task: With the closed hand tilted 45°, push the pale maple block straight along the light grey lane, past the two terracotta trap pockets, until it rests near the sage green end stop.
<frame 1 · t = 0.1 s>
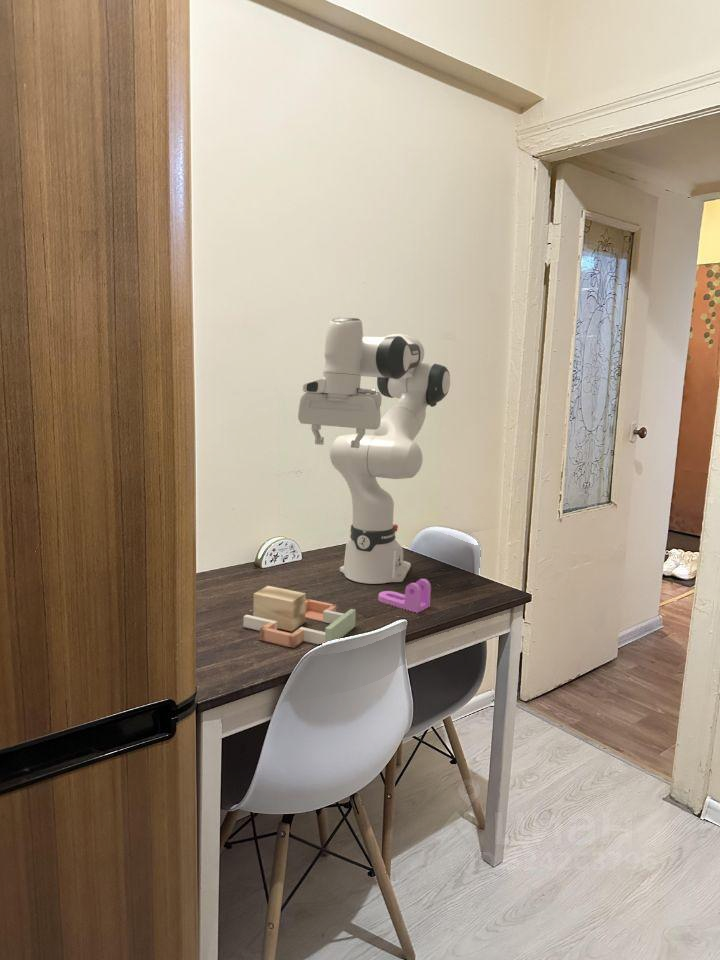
hand: (336, 446, 160), 39 cm above the table, tool pointing down, fingers open, 8 cm apart
maple block: (279, 622, 154), on the table
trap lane: (296, 626, 153), on the table
bracket: (401, 604, 169), on the table
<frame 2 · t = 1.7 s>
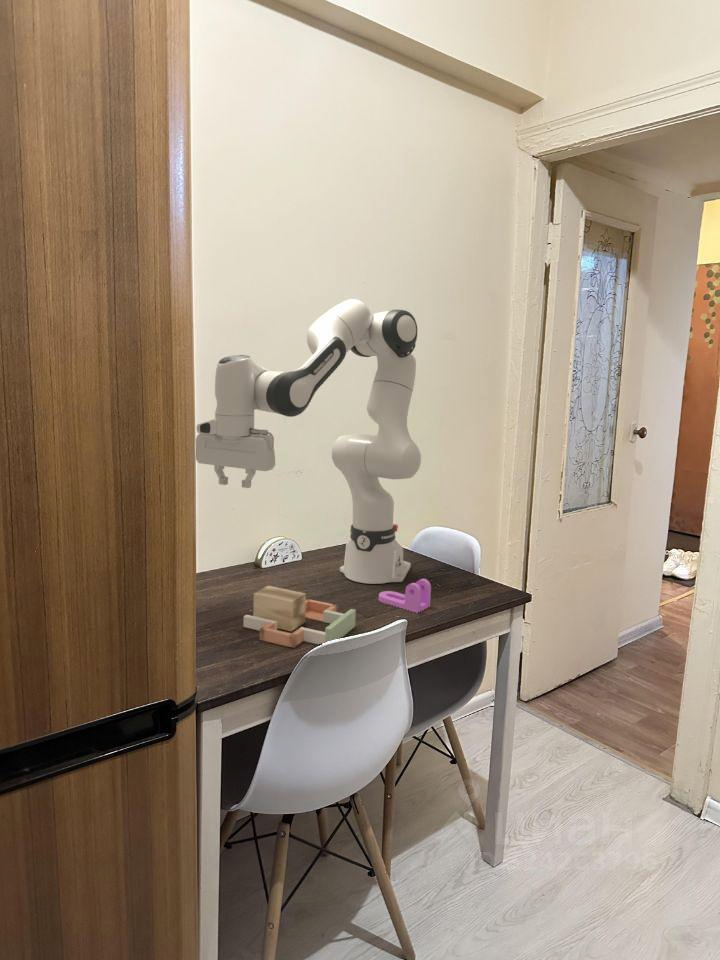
hand: (234, 486, 159), 29 cm above the table, tool pointing down, fingers open, 5 cm apart
nothing on the table moved.
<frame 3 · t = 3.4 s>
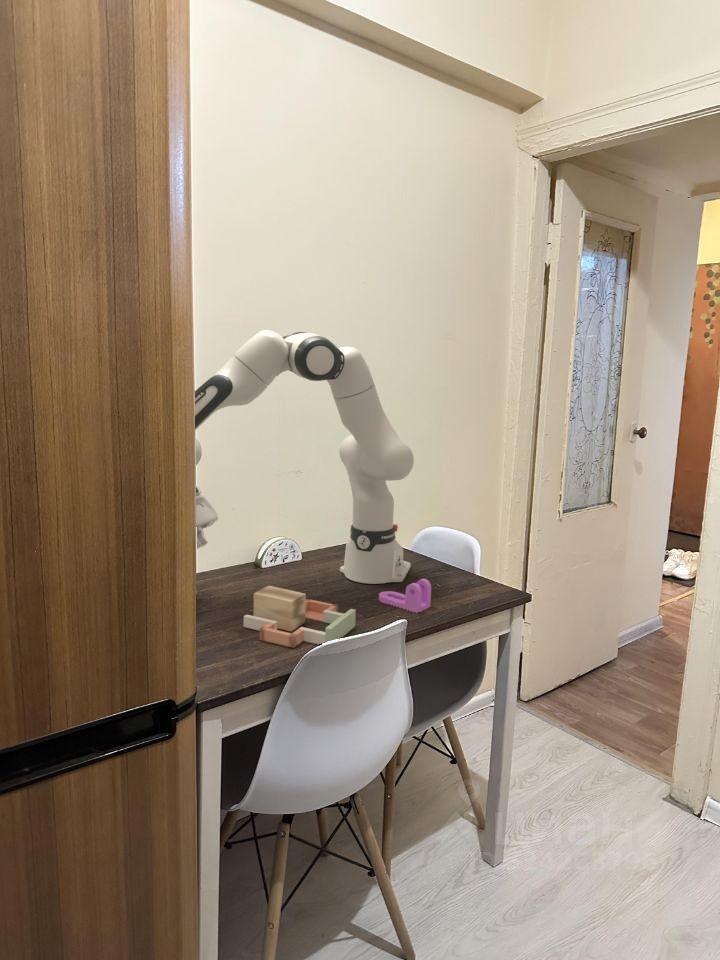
hand: (202, 546, 160), 15 cm above the table, tool tilted 45°, fingers closed
nothing on the table moved.
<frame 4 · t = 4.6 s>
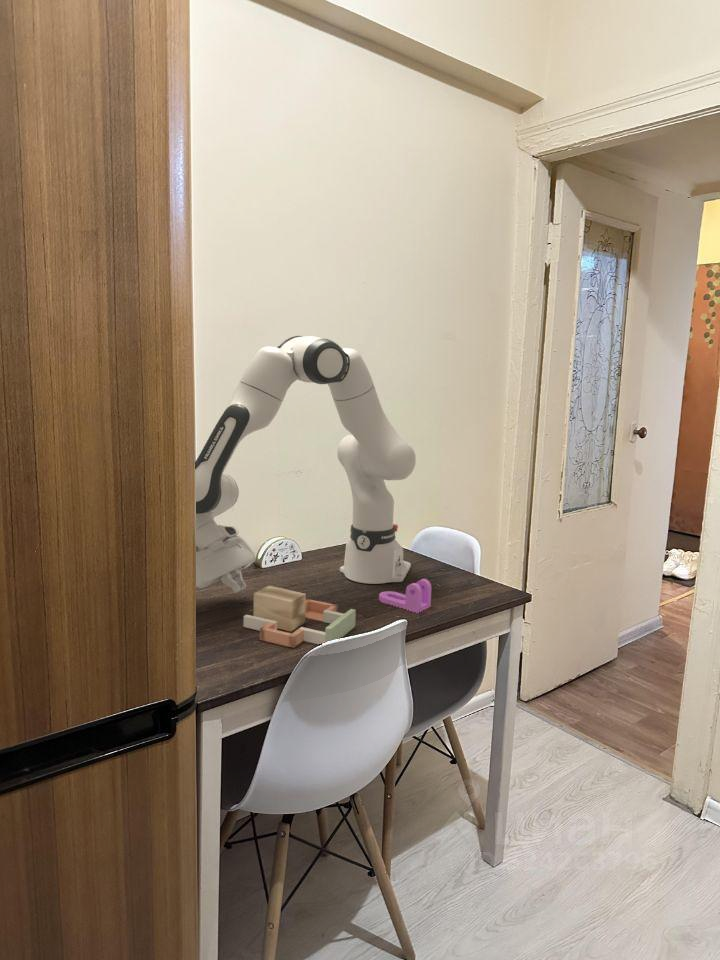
hand: (241, 589, 158), 6 cm above the table, tool tilted 45°, fingers closed
nothing on the table moved.
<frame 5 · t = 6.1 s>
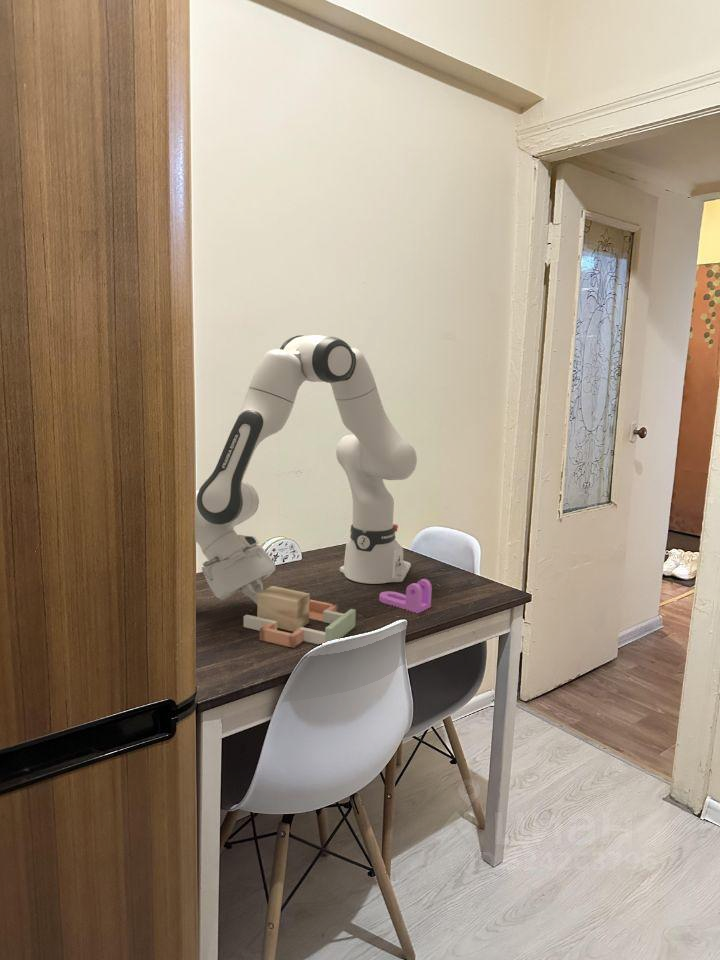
hand: (262, 600, 156), 4 cm above the table, tool tilted 45°, fingers closed, pressing on maple block
maple block: (283, 622, 154), on the table, touching gripper
everything else where it was.
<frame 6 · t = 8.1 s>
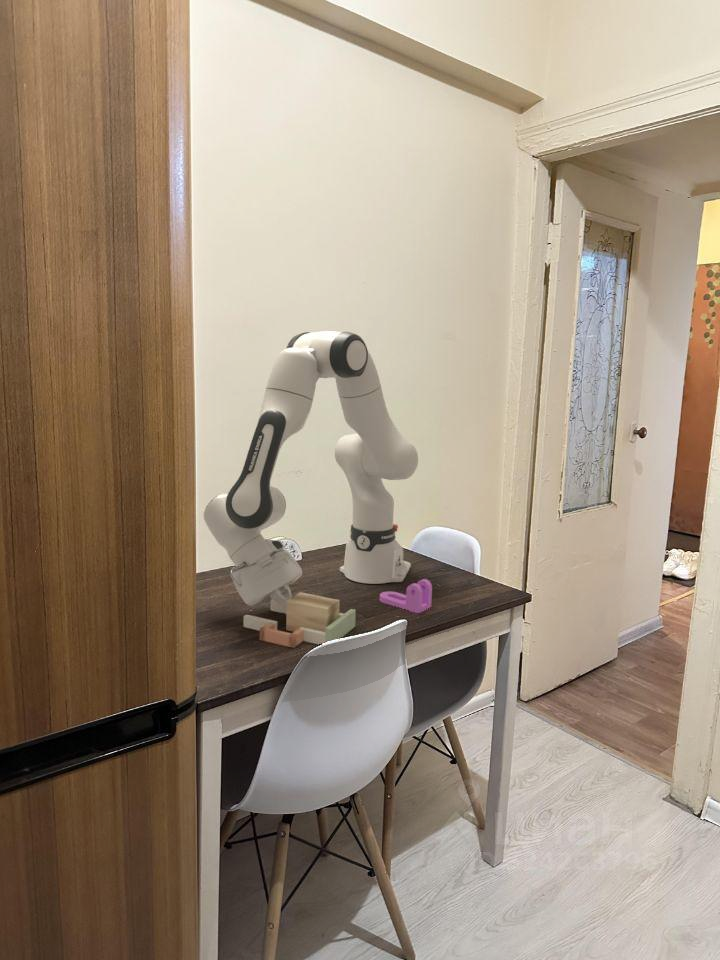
hand: (290, 606, 152), 4 cm above the table, tool tilted 45°, fingers closed
maple block: (312, 630, 151), on the table
everything else where it was.
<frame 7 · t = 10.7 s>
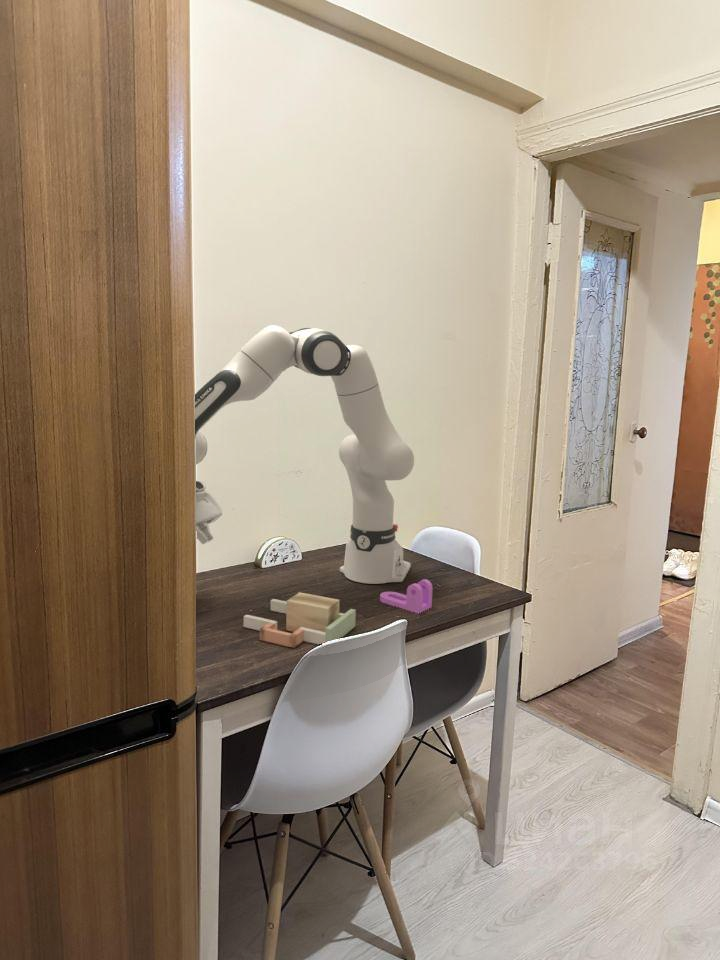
hand: (208, 541, 160), 16 cm above the table, tool tilted 45°, fingers closed
nothing on the table moved.
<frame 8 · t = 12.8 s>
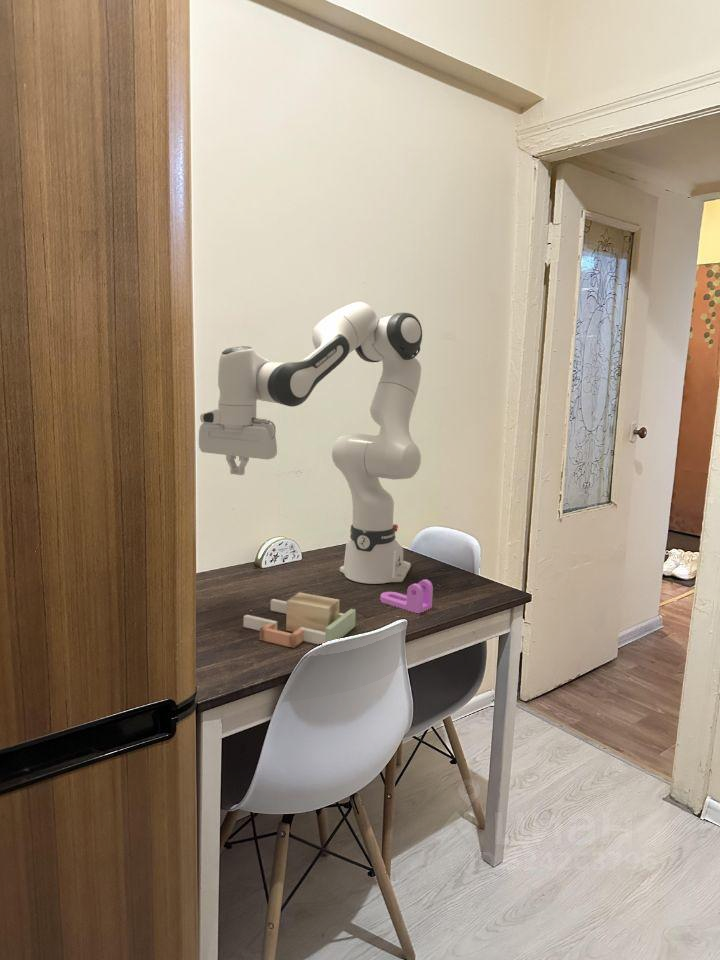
hand: (237, 474, 163), 31 cm above the table, tool pointing down, fingers closed
nothing on the table moved.
at the end: maple block 0.5 cm from the target spot, on the table; maple block tilted 0°; maple block moved 8.5 cm from its start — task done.
